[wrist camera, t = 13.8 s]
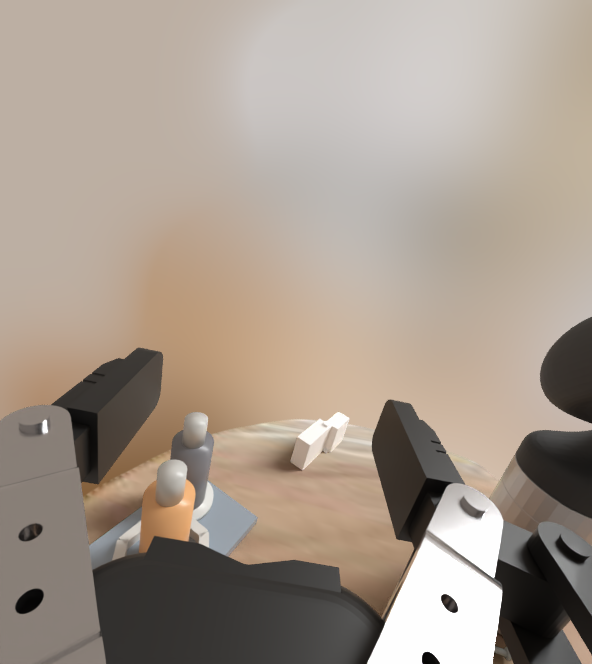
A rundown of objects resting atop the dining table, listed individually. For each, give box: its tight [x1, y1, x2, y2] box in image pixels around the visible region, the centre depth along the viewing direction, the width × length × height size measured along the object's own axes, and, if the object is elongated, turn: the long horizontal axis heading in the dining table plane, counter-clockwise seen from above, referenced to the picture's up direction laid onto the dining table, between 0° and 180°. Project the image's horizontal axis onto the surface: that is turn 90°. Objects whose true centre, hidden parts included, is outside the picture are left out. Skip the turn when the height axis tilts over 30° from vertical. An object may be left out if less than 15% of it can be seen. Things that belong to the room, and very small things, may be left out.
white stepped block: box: [290, 412, 349, 471], centre depth 53 cm, size 15×11×6 cm
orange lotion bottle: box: [139, 460, 195, 553], centre depth 30 cm, size 4×4×12 cm
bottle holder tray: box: [89, 412, 258, 570], centre depth 32 cm, size 16×11×13 cm
